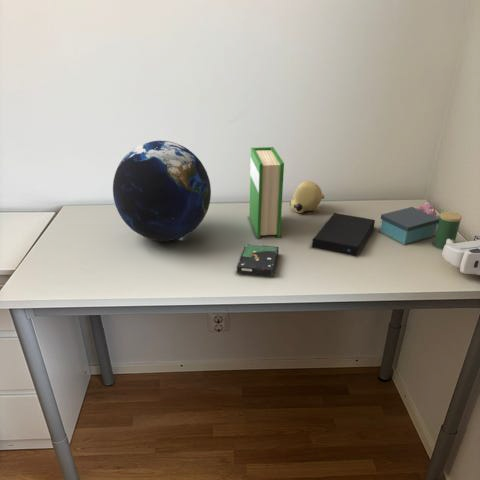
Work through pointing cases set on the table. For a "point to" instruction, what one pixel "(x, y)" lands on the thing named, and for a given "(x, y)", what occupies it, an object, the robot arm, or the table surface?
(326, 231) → the external hard drive
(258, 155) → the hardback book
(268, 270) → the disk drive
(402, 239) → the storage box
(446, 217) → the tea tin
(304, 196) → the toy pig
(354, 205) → the table surface
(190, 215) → the globe
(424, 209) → the video game controller
